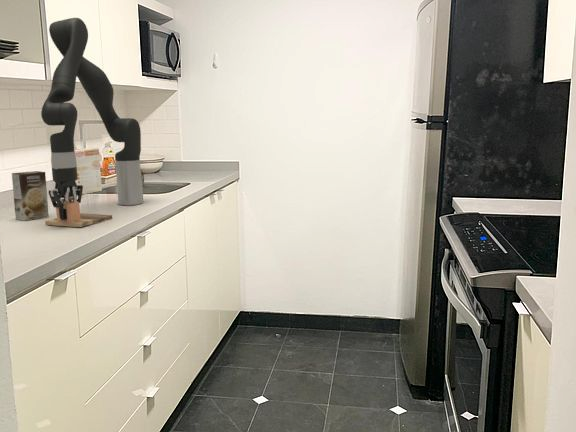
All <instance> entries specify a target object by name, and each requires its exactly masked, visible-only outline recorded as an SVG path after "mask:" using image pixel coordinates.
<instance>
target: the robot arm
mask: <svg viewBox="0 0 576 432" xmlns="http://www.w3.org/2000/svg"><path fill="white" fill-rule="evenodd" d="M48 27H49V29H48V30H49V31H48V33H49V35H50V38H51V40H52V43H53V45H54V46H55V48H56V49H57V51H59V53H60V54H61V55H62V59H61V61H60V62H59V63H58V65H57V66H56V68H55V70H54V72H53V76H52V81H51V87H50V91H49V93H48V95H47V97H46V99H45V100H44V103H43V105H42V108H41V112H40V114H41V115H40V117H41V119H42V121H43V123H44V124H45V125H46V126H47V125H48V126H64V128H63V129H62V131H60V132H56V133H52V134H51V135H50V136H49V137H50V138H49V142H50V152H51V153H50V155H51V156H50V163H51V172H52V173H51V175H52V176H51V177H52V181H53V182H54V183H55V185H54V189H50V190H48V195H49V199H50V201H51V203H52V207H53V208H55V209H56V208H58V209H59V216H60V219H61V220H67V210H66V209H65V208H66V202H67V201H72V202H79V204H81V203H82V199H83V194H82V191H83V186H82V185H77V184H76V182H75V181H76V180H77V179H78V177H77V165H76V156H75V152H74V150H75V141H74V139H75V131H76V130H75V129H76V125H77V121H78V110H77V107H76V106H75V105H74V104H73V103H72V102H70V101H72V100H73V99H74V97H75V91H76V90H75V89H76V83H77V79H78V81H79V83H80V84H81V85H82V88H83V89H84V91H85V93H86V95H87V96H88V98H89V99H90V101H91V103H92V104H93V105H94V107H95V109H96V111H97V113H98V115H99V117H100V119H101V121H102V122H103V123H102V124H103V125H104V127H105V130H106V131H107V134H108V135H109V137H110V138H111V140H112V141H114V142H117V143H123V144H124V145H123V148H122V149H121V150H120V151H117V152H115V154H114V160H115V176H116V187H117V188H116V189H117V201H118V203H117V204H118V205H119V206H137V205H141V204H143V202H144V190H143V189H144V184H143V185H142V178H141V171H140V170H141V160H140V158H141V157H140V156H141V151H142V146H141V145H142V142H141V141H142V138H141V137H142V135H141V134H142V133H141V125H140V123H139V122H138V120H137V119H135V118H133V117H132V118H130V117H129V118H127V117H126V118H123V117H122V118H120V116H119V115H118V113H116V110H115V109H114V105H113V103H114V93H115V92H114V87H113V84H112V83H111V81H110V80H109V78H108V76H107V74H106V72H104V71H103V70H102V69H101V68H100V67H99V66H97V65H96V64H94V63H93V62H92V61H90V60H88V59H87V58H86V57H84V53H85V50H86V48H87V44H88V40H89V39H88V38H89V30H88V26H87V25H86V23H85V22H84V21H83V20H82V19H81V18H79V17H71V18H66V19H61V20H57V21H53V22H52V23H51V24H50V25H49V26H48ZM62 201H63V204H61V202H62ZM56 203H57V204H56Z"/></svg>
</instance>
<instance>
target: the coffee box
mask: <svg viewBox="0 0 576 432" xmlns="http://www.w3.org/2000/svg"><path fill="white" fill-rule="evenodd" d="M46 179H47V177H46V171H39V170H38V171H36V170H35V171H23V172H22V171H20V172H11V180H12V181H11V182H12V191H13V194H12V195H13V204H14V212H15V213H14V217H15V220H19V221H22V220H23V222H27V221H32V219H34V220H39V219H46V218H49V216H50V215H49V213H50V212H49V203H48V192H47V190H48V189H47V180H46ZM26 220H27V221H26Z"/></svg>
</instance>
